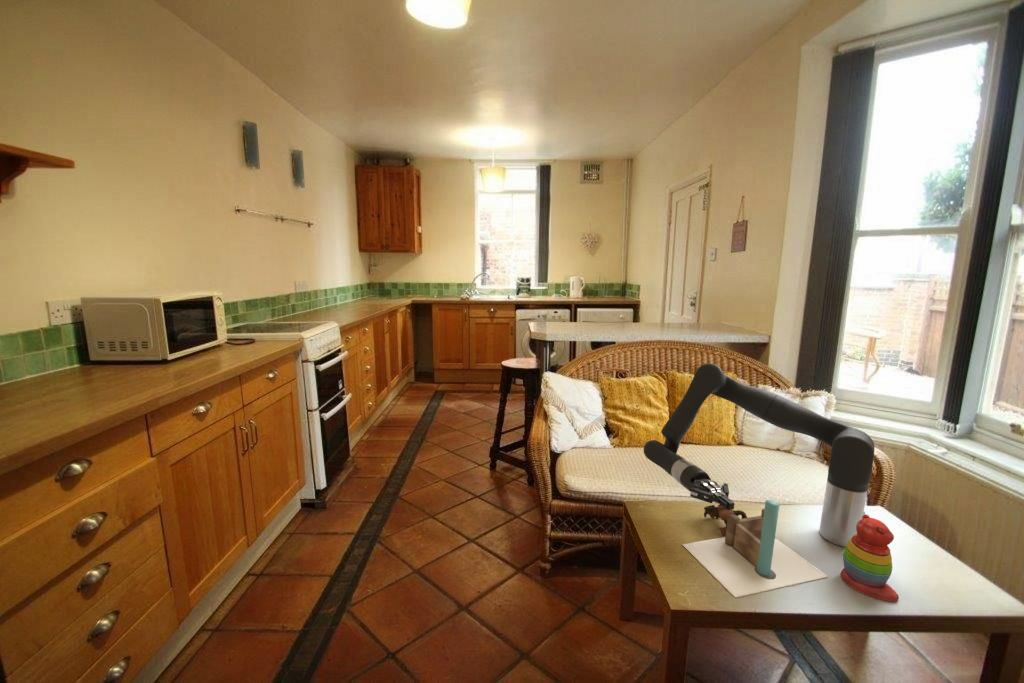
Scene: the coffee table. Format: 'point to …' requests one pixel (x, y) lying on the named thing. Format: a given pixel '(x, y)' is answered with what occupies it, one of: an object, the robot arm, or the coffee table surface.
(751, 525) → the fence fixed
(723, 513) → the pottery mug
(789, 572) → the card
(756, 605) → the coffee table surface
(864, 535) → the stacking bear
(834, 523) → the robot arm
